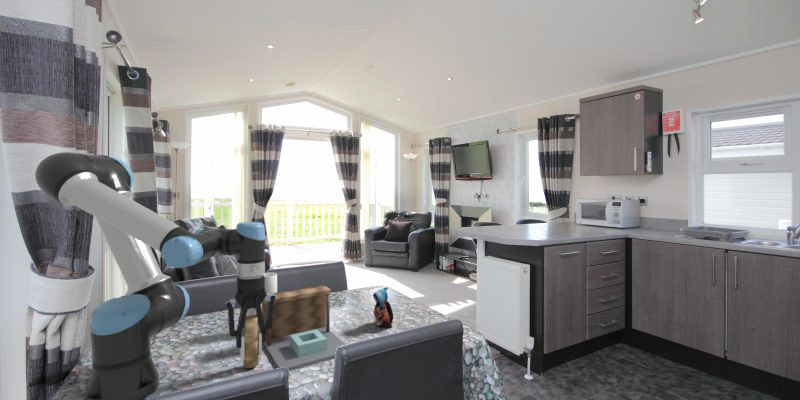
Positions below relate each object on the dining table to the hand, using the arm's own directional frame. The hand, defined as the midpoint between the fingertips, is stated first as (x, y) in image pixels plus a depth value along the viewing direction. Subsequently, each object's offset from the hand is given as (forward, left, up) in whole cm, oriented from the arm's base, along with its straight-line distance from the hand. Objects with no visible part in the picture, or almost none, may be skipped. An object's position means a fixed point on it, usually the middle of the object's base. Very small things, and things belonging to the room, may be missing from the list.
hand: (250, 355), depth 103 cm
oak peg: (0, 0, -3) cm, 3 cm away
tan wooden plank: (+17, +12, -3) cm, 21 cm away
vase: (+8, +26, -4) cm, 27 cm away
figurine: (+47, +6, -4) cm, 48 cm away
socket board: (+17, +4, -3) cm, 18 cm away
